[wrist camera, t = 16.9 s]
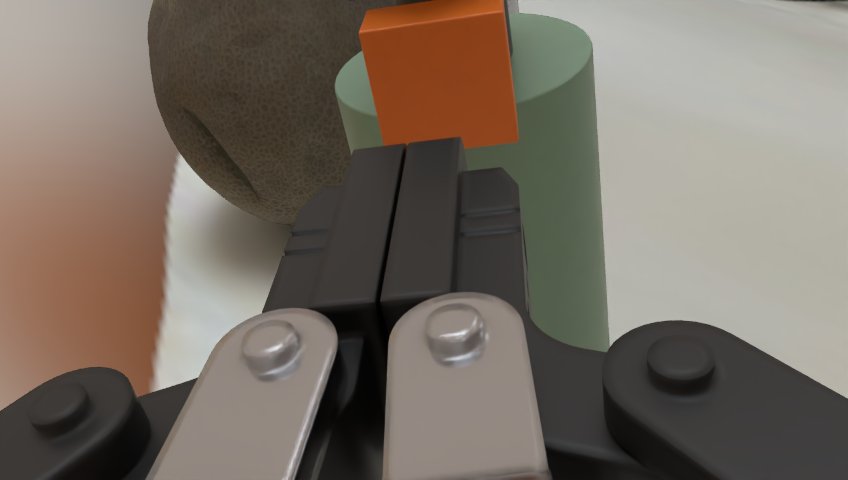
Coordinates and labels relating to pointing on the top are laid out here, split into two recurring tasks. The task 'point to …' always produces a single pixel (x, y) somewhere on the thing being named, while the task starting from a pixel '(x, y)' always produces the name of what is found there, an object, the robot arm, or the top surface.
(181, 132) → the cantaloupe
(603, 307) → the spray bottle
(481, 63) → the trigger
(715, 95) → the top surface
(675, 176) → the top surface
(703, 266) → the top surface
